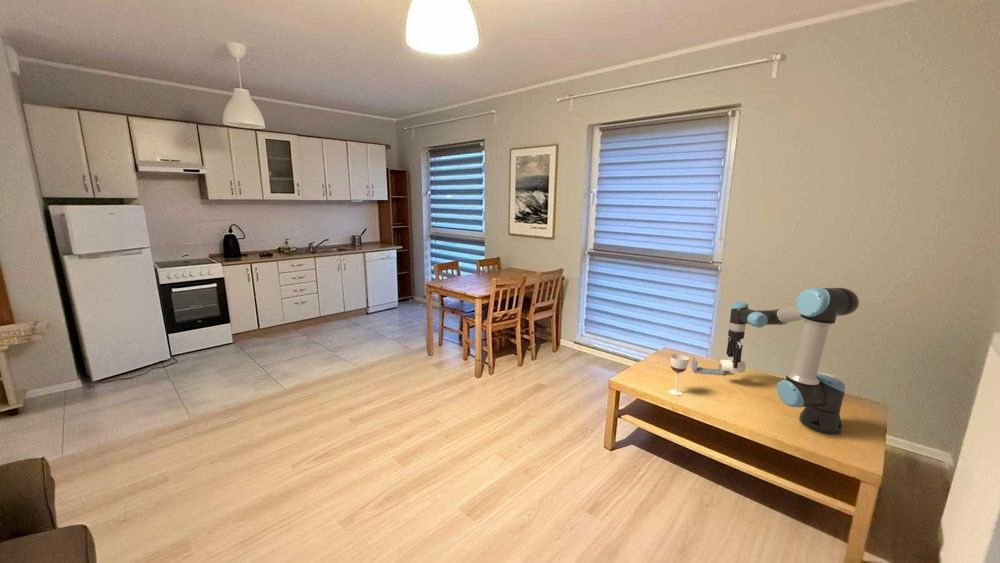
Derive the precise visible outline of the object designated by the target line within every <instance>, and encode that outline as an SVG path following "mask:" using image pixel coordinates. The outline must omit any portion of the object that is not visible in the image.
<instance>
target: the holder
mask: <svg viewBox="0 0 1000 563" xmlns="http://www.w3.org/2000/svg"><path fill="white" fill-rule="evenodd" d="M698 362H699V361H698V360H697V359H696V357H692V360H691V370H692V372H693V373H695V374H706V375H715V376H725V371H721V370H720V366H719V364H720V361H719V363H718V369H717V368H708V367H707V368H705V367H698V364H699V363H698Z"/></svg>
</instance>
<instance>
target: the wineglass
mask: <svg viewBox="0 0 1000 563" xmlns="http://www.w3.org/2000/svg"><path fill="white" fill-rule="evenodd" d="M689 361H690V358H689V356H687V355H684V354H679V353H673V354H670V369H671V370H672V371H673V372H675V373H676V379H675V388H673V389H671V390H670V389H668V390H669V392H670V393H671V394H674V395H682V394H683V395H684V392H683V391H681V390H678V384H679V383H678V382H679V381H678V380H679V375H680V373H684V372H685V371H686V370H687V368H688V364H689ZM674 389H675V390H674ZM680 391H681V392H680ZM670 393H669V394H670ZM671 394H670V395H671ZM674 395H673V396H674ZM683 395H682V396H683Z"/></svg>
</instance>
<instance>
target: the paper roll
mask: <svg viewBox="0 0 1000 563" xmlns="http://www.w3.org/2000/svg"><path fill="white" fill-rule="evenodd" d="M732 361H733V360H728V359H719V362H720V364H719V363H718V367H719V366H720V370H721V371H724V372H731V368H732ZM746 367H747V366H746V362H745V361H743V360H741V362H740V363H739V362H738V369H737V373H745V372H746Z"/></svg>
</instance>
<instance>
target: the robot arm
mask: <svg viewBox="0 0 1000 563" xmlns="http://www.w3.org/2000/svg"><path fill="white" fill-rule="evenodd" d="M731 303H732V304H731V307H730V318H729V323H728V333H727V335H728V337H727V346H726V351H725V352H726V355H727V360H733V361H732V368H731V371H730V373H731V374H738V372H737V369H738V362H739V363H740V362H741V361H742V352H743V344H742V343H741V340H743V339H745V333H746V332H745V331H746V327H747V325H750V326H752V327H754V328H760V329H761V328H763V327H765V326H772V325H773V326H776V325H777V326H783V325H787V324H788V323H791V322H792V323H793V322H797V321H802V320H803V322H802V327H801V331H800V335H799V339H798V344H797V348H796V353H795V357H794V360H793V364H792V369H791V370H790V371H788V372H787V373H786V375H785V376H786V377H785V379H781V380H780V381H778V383H777V385H776V392H777V394H778V396H779V399H780V400H781V402H783V404H785V406H788V407H790V408H791V407H792V408H798V409H799V408H803V409H802V411H801V412H800V413H799V418H798V420H799V421H800V423H802V424H803V425H804V426H805V427H807V428H809V429H811V430H814V431H816V432H820V433H823V434H829V435H837V434H840V433H842V430H843V425H842V424H843V423H842V420H841V410H842V404H843V401H844V396H845V393H846V391H845V389H846V385H845V383H844V382H843V381H842V380H840V379H838V378H837V377H834V376H831V375H827V374H823V373H818V371H819V367H820V363H821V359H822V356H823V352H824V348H825V344H826V340H827V337H828V334H829V328H830V326H832V325H834V324H835V323H836V320H837V317H838V316H848V315H850V314H852V313H855V311H857V309H858V308H859V306H860V300H859V297H858V295H857V294H856V293H855V292H854V291H853V290H851V289H849V288H844V287H814V288H808V289H805V290H804V291H801V293H800V294H799V295H798V297H797V299H796V303H795V304H794V305H790V306H785V307H781V308H778V309H772V310H771V309H769V310H768V309H767V310H753V309H750V308H749V303H747V302H745V301H733V302H731Z"/></svg>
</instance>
